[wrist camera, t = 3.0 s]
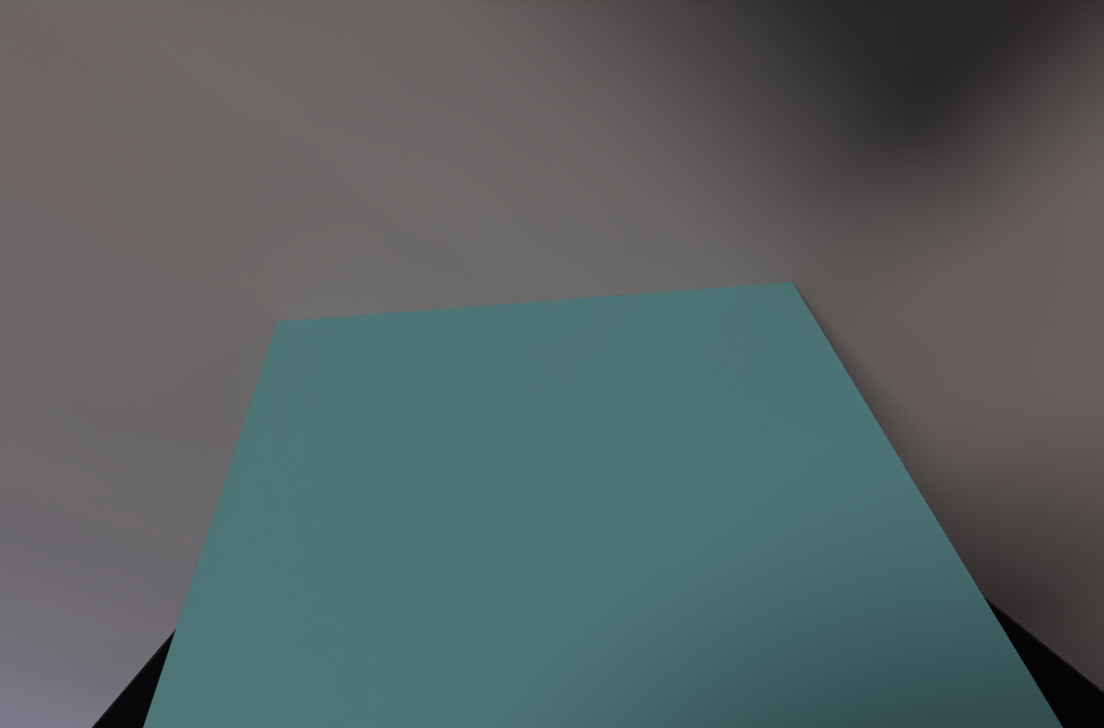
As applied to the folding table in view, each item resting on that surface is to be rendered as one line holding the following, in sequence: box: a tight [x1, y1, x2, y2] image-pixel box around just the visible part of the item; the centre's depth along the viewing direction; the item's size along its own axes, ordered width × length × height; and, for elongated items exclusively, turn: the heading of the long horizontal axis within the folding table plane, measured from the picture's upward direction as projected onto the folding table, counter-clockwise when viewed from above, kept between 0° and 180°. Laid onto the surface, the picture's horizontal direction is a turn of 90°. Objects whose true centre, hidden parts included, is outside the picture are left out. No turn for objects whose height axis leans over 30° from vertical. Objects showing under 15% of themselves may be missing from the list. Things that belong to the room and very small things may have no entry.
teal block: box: [143, 282, 1063, 728], centre depth 8 cm, size 5×5×5 cm
